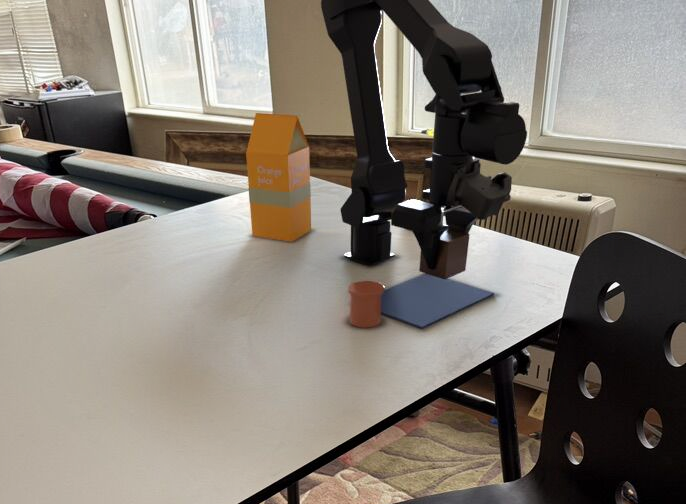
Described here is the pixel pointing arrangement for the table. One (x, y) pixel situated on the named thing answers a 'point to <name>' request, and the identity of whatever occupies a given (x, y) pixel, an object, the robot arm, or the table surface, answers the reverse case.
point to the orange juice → (279, 178)
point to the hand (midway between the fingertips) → (442, 264)
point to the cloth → (429, 300)
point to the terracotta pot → (365, 303)
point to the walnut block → (449, 255)
